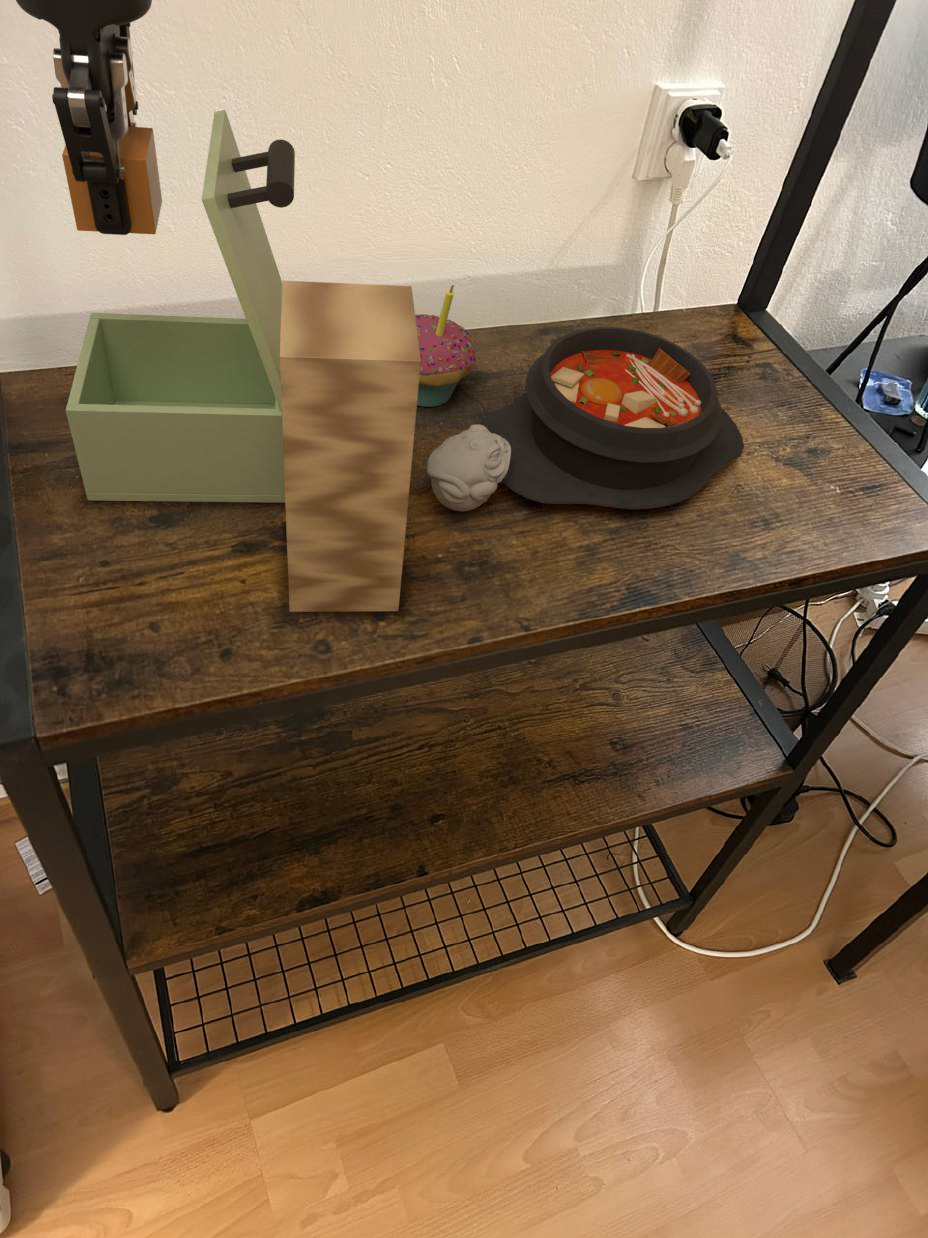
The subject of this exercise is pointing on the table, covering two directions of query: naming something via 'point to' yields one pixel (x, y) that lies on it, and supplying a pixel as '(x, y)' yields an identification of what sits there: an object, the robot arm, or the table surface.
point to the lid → (250, 232)
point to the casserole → (615, 423)
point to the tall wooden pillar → (347, 441)
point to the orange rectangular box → (137, 180)
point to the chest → (175, 412)
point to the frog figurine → (468, 468)
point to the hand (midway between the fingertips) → (119, 211)
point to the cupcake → (442, 355)
